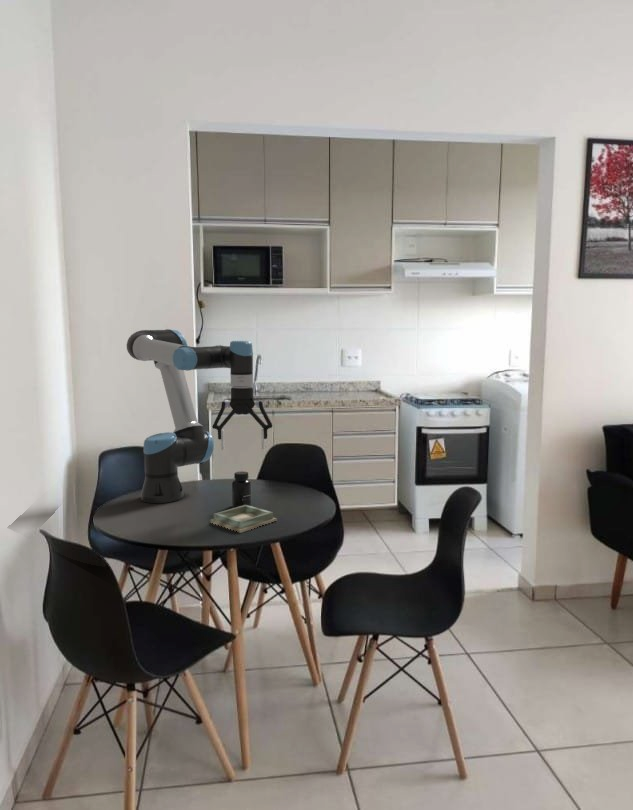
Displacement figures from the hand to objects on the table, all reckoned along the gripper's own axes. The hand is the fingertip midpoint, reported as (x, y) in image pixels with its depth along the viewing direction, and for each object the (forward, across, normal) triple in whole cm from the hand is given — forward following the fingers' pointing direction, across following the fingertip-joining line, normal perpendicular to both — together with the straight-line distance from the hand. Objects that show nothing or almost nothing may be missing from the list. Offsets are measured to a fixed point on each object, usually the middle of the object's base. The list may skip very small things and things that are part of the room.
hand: (243, 448), depth 212 cm
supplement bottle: (+21, -1, 0) cm, 21 cm away
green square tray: (+20, +1, -17) cm, 27 cm away
